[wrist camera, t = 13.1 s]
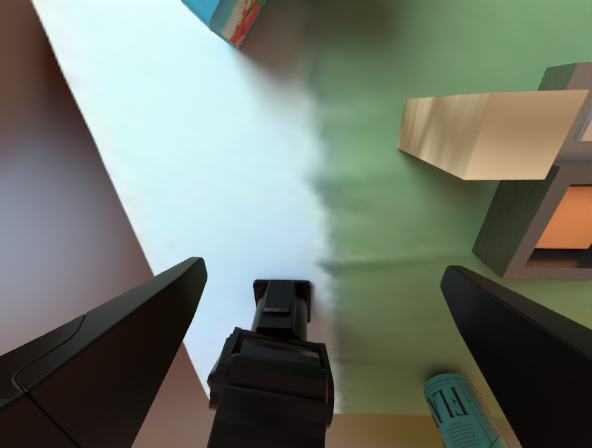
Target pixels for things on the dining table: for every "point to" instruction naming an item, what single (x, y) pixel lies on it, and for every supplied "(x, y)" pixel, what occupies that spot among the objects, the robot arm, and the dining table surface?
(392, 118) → the dining table surface
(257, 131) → the dining table surface
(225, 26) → the yogurt
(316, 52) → the dining table surface
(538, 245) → the button
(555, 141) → the tan wooden block
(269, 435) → the robot arm
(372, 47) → the dining table surface
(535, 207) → the box
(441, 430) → the beverage bottle
